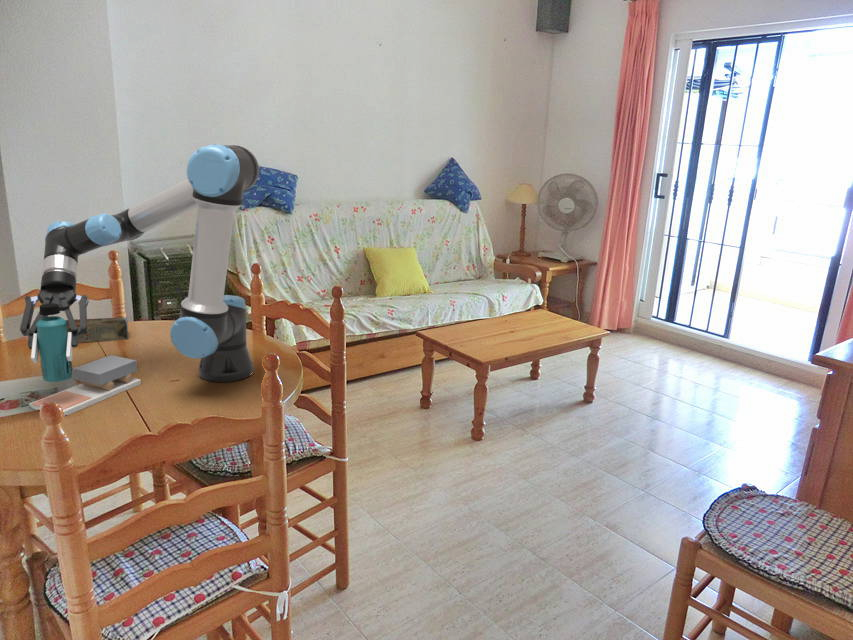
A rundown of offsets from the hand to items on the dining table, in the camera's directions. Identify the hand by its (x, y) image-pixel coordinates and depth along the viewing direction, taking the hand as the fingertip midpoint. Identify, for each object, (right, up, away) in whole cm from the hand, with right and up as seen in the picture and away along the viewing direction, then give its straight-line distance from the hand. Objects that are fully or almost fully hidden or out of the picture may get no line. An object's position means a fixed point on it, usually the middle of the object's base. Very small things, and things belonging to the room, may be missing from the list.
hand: (51, 359), depth 145 cm
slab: (+3, -5, +18) cm, 19 cm away
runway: (+1, -10, +14) cm, 17 cm away
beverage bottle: (-2, -6, +5) cm, 8 cm away
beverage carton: (-20, +3, +57) cm, 60 cm away
